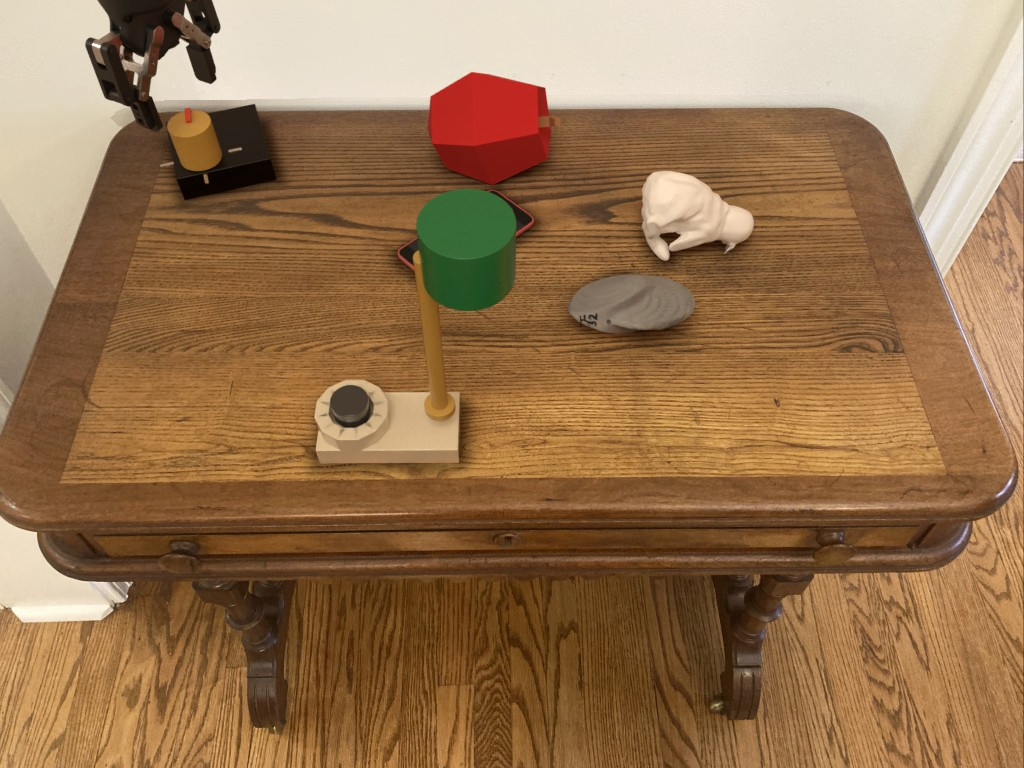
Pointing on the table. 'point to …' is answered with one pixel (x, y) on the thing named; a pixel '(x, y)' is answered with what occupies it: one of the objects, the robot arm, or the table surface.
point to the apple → (490, 126)
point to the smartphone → (522, 216)
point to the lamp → (460, 271)
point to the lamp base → (388, 430)
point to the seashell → (631, 303)
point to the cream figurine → (689, 214)
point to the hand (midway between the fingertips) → (180, 103)
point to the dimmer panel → (229, 156)
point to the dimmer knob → (195, 140)
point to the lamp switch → (350, 406)
